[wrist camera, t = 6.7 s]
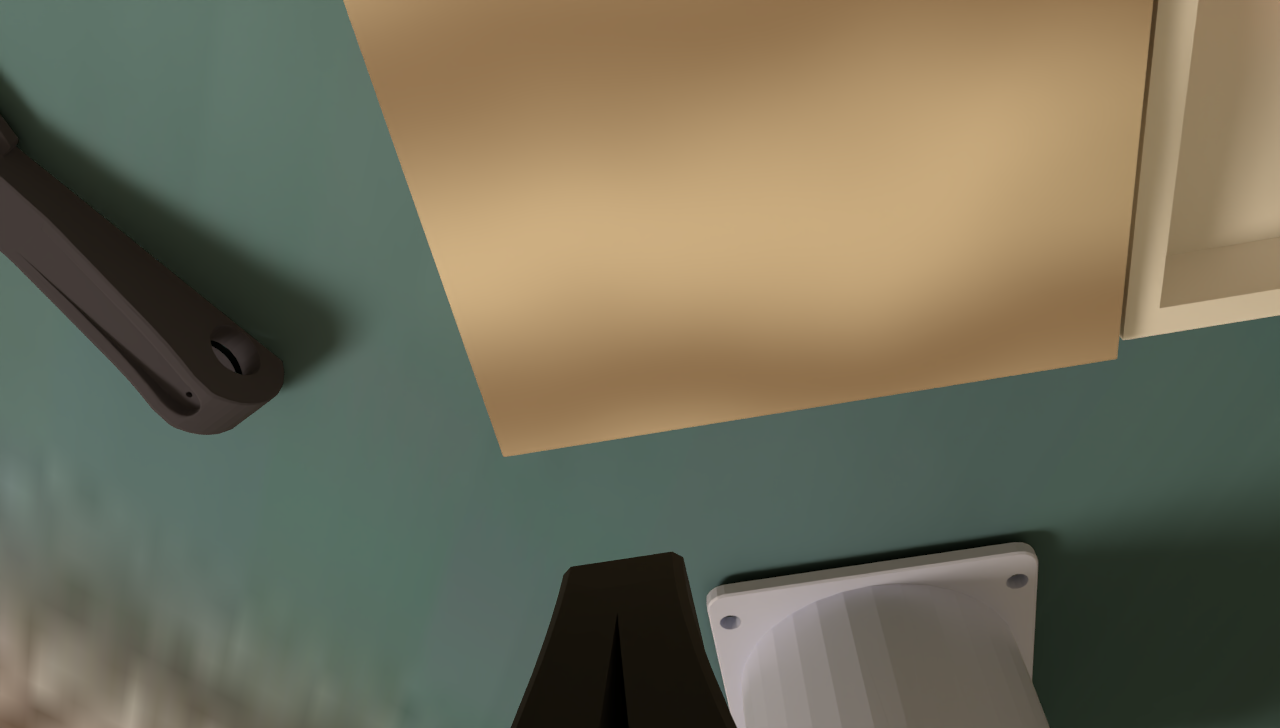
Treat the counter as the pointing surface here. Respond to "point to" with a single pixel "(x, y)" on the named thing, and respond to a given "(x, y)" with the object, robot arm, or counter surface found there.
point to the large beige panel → (761, 196)
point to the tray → (1206, 170)
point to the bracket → (130, 303)
